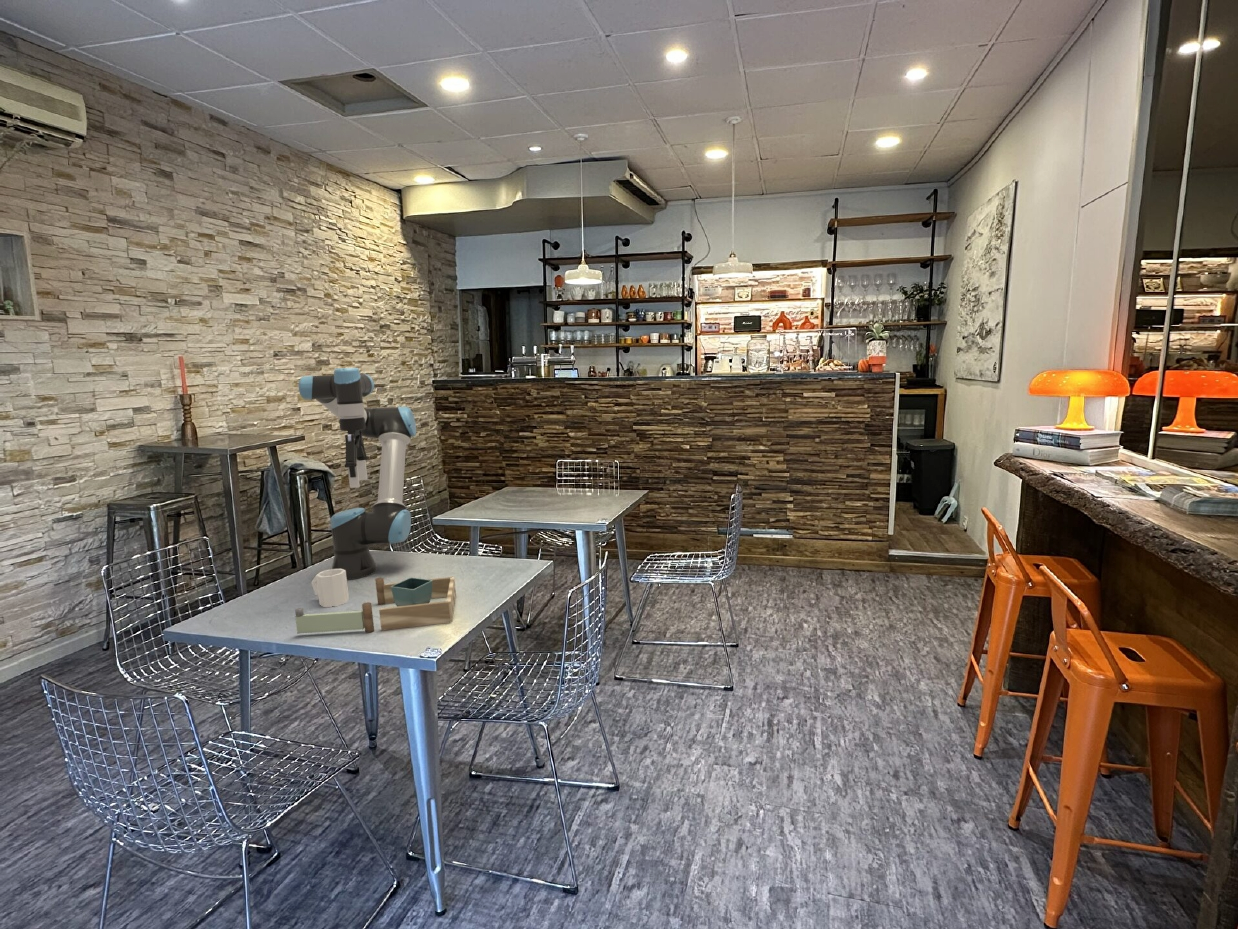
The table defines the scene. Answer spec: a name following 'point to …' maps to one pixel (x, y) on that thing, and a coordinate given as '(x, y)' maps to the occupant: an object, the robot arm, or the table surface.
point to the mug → (331, 587)
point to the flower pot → (412, 592)
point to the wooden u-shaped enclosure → (412, 607)
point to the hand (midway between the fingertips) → (359, 483)
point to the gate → (328, 621)
